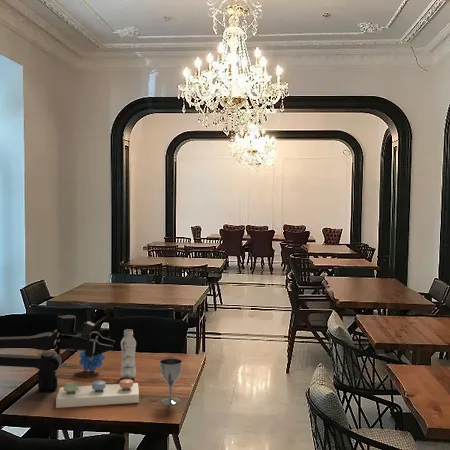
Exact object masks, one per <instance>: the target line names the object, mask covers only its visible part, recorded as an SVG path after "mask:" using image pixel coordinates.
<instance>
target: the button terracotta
mask: <svg viewBox="0 0 450 450" xmlns="http://www.w3.org/2000/svg"><path fill="white" fill-rule="evenodd" d="M133 383H134V380H132V379H120V380H119V384H120V387H121V388H123V391H129V390H130V387H132V386H133Z"/></svg>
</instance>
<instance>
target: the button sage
mask: <svg viewBox="0 0 450 450" xmlns="http://www.w3.org/2000/svg"><path fill="white" fill-rule="evenodd" d="M78 386H79V383H78V382H67V383H64V384H63V387H64V391H67V394H74V391H75V390H77V389H78Z"/></svg>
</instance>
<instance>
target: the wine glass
mask: <svg viewBox="0 0 450 450" xmlns="http://www.w3.org/2000/svg"><path fill="white" fill-rule="evenodd" d="M182 361H183V360H182V359H180V358H177V357H167V358H163V359H161V360H160V361H159V367H160V368H159V369H160V375H161V378H162V379H163V380H164V381H165V383H167V386H168V390H169V397H165V398H162V399H161V400H160V403H161V404H162V405H164V406H175V405H178V404H180V403H181V399H180V398H177V397H173V395H172V393H173V387H174V384H175V383H176V382H177V381H178V380H179V379H180V376H181V374H182V373H181V372H182V366H183V362H182Z"/></svg>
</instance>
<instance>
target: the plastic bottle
mask: <svg viewBox="0 0 450 450" xmlns="http://www.w3.org/2000/svg"><path fill="white" fill-rule="evenodd" d="M133 331H134V330H133V329H128V328H126V329H124V330H123V337H122V339H121V341H120V348H121V366H120V377H121V378H122V379H123V380H125V379H130V380H132V379H134V378H135V377H136V376H137V367H136V359H135V357H136V349H137V348H136V347H137V341H136V339H135V337H134V332H133Z"/></svg>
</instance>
